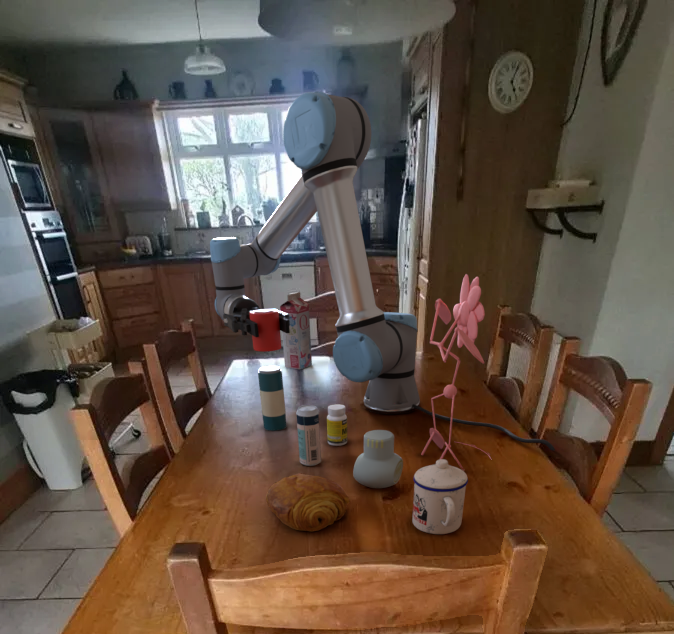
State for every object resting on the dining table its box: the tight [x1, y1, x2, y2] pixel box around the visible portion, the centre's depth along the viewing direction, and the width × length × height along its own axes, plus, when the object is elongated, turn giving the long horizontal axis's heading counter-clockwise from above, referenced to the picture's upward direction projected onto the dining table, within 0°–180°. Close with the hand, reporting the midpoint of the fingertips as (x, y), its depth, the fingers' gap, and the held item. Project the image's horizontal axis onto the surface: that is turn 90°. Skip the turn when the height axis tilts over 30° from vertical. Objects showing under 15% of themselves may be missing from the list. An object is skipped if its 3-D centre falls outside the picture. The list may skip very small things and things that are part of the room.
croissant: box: [265, 472, 351, 532], centre depth 99 cm, size 14×16×8 cm
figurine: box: [420, 273, 492, 472], centre depth 109 cm, size 15×26×35 cm, turn 9°
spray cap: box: [249, 308, 283, 353], centre depth 126 cm, size 7×7×8 cm
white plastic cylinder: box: [295, 404, 322, 467], centre depth 117 cm, size 5×5×12 cm
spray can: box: [257, 365, 288, 432], centre depth 135 cm, size 6×6×14 cm
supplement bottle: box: [326, 403, 348, 447], centre depth 127 cm, size 5×5×8 cm
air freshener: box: [352, 429, 404, 489], centre depth 108 cm, size 11×8×10 cm
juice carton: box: [279, 291, 313, 370], centre depth 181 cm, size 7×7×22 cm
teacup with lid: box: [411, 458, 469, 535], centre depth 93 cm, size 12×9×12 cm
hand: (272, 328), depth 122 cm, fingers closed on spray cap, 7 cm apart
